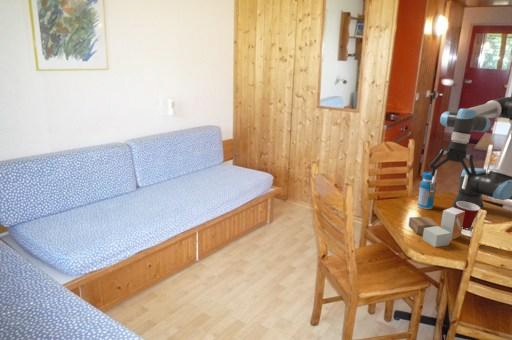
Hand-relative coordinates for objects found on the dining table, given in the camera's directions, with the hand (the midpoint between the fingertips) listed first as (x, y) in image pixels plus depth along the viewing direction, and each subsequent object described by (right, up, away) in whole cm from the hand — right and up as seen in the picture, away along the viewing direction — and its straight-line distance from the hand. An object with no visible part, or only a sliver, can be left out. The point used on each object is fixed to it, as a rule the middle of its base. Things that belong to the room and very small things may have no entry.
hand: (447, 185), depth 184 cm
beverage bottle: (+5, -14, +37) cm, 39 cm away
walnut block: (-9, -22, +6) cm, 25 cm away
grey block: (-9, -26, -6) cm, 28 cm away
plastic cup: (+13, -21, +10) cm, 27 cm away
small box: (+1, -24, 0) cm, 24 cm away
